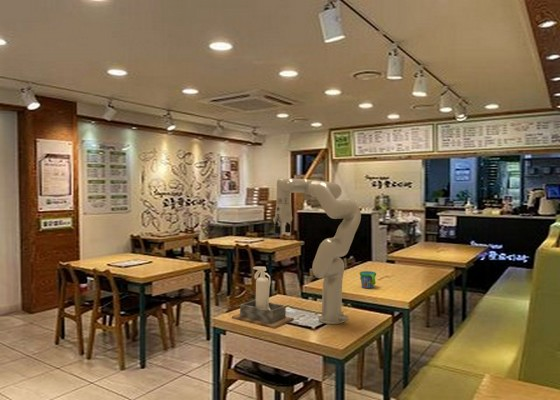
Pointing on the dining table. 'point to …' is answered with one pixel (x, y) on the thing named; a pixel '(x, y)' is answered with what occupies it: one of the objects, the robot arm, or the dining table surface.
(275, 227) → the robot arm
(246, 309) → the caddy
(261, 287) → the fire extinguisher
